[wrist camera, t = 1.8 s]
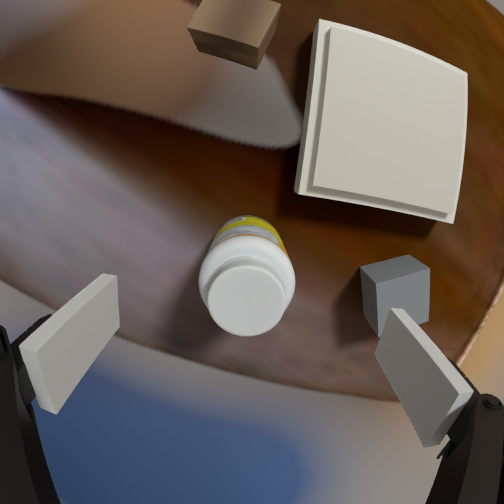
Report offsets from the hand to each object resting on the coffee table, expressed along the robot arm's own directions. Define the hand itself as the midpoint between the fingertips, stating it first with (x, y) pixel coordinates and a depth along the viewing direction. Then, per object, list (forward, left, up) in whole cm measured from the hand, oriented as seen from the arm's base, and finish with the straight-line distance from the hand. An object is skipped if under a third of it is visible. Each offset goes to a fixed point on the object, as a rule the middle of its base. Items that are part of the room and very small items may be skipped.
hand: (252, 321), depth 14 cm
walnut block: (-3, +17, -12) cm, 21 cm away
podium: (+10, +12, -12) cm, 19 cm away
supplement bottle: (0, 0, -12) cm, 12 cm away
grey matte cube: (+13, -2, -12) cm, 17 cm away
